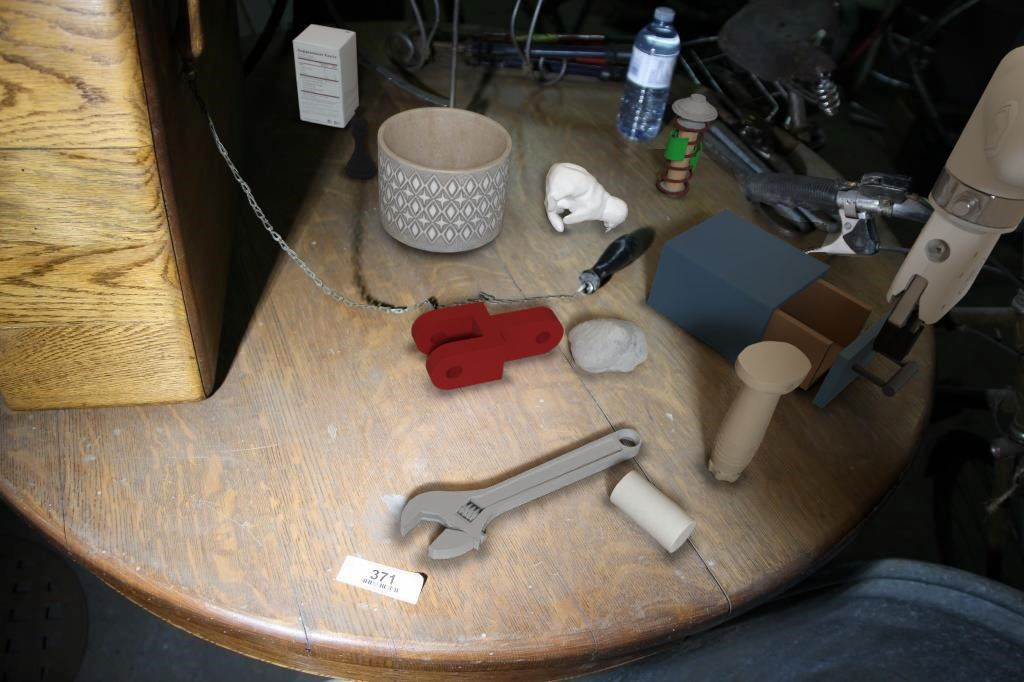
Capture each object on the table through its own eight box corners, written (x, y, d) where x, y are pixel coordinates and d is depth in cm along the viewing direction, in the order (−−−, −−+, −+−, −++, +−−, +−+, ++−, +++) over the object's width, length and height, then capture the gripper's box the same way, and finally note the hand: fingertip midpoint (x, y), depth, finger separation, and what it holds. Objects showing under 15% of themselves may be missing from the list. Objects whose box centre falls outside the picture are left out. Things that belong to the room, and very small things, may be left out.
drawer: (910, 388, 84) (941, 340, 80) (863, 436, 78) (894, 388, 73) (770, 303, 93) (791, 256, 89) (718, 340, 87) (737, 291, 82)
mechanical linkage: (430, 393, 77) (431, 359, 74) (410, 348, 82) (411, 313, 79) (569, 364, 83) (576, 330, 80) (543, 323, 88) (549, 289, 84)
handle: (682, 461, 74) (727, 351, 64) (734, 444, 77) (785, 335, 67) (711, 499, 71) (763, 389, 61) (764, 480, 74) (822, 372, 64)
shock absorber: (695, 205, 111) (725, 109, 101) (653, 201, 111) (679, 104, 101) (689, 183, 116) (717, 89, 106) (648, 179, 115) (672, 84, 105)
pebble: (594, 323, 88) (602, 290, 85) (654, 356, 85) (664, 323, 82) (552, 360, 83) (559, 326, 80) (614, 397, 80) (623, 363, 77)
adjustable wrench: (628, 434, 76) (632, 422, 75) (664, 482, 72) (669, 470, 71) (394, 513, 66) (394, 501, 65) (421, 573, 62) (421, 562, 61)
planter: (501, 195, 107) (510, 112, 99) (504, 264, 95) (514, 176, 87) (384, 187, 106) (383, 101, 97) (373, 256, 94) (370, 166, 85)
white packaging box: (316, 101, 123) (310, 22, 114) (360, 109, 122) (357, 31, 114) (298, 120, 118) (291, 39, 109) (344, 129, 117) (339, 48, 108)
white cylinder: (691, 535, 68) (700, 513, 65) (666, 559, 66) (674, 538, 63) (632, 485, 71) (638, 463, 69) (607, 507, 69) (612, 486, 67)
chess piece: (339, 173, 107) (335, 106, 101) (357, 160, 110) (354, 95, 104) (364, 182, 106) (362, 116, 99) (382, 169, 109) (381, 104, 102)
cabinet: (802, 326, 92) (830, 266, 86) (745, 370, 85) (772, 308, 79) (705, 267, 99) (725, 208, 93) (646, 303, 92) (664, 242, 86)
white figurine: (551, 150, 100) (637, 169, 101) (537, 204, 106) (619, 221, 107) (549, 174, 96) (640, 193, 97) (534, 228, 101) (620, 247, 102)
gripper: (992, 244, 60) (891, 403, 72) (1051, 190, 68) (952, 341, 80) (903, 202, 63) (821, 360, 75) (970, 156, 72) (887, 305, 84)
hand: (889, 350), depth 78 cm, fingers closed
